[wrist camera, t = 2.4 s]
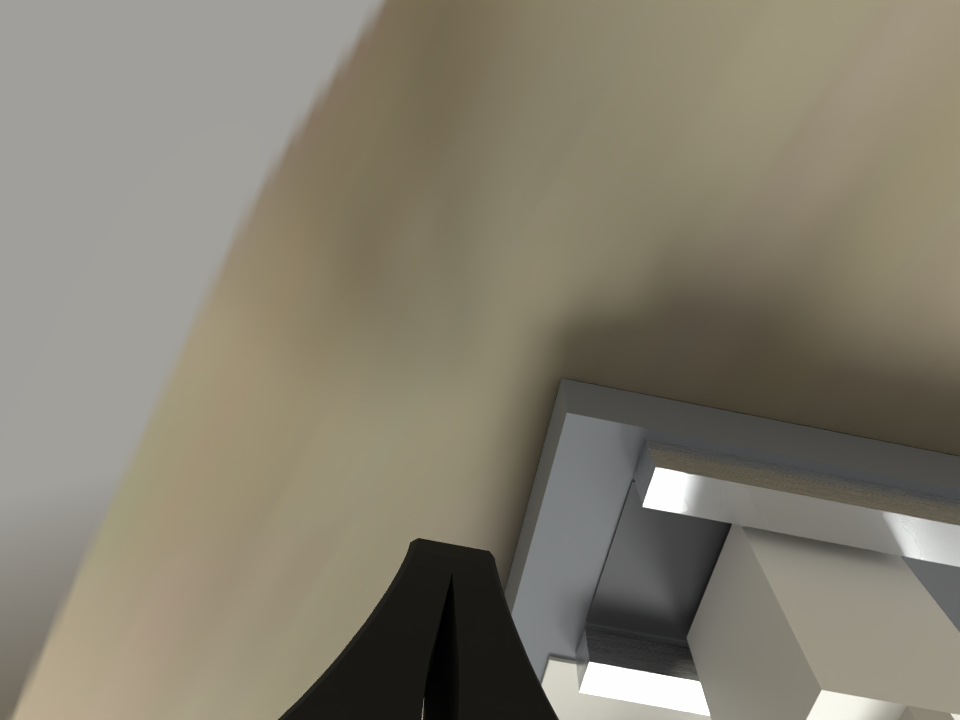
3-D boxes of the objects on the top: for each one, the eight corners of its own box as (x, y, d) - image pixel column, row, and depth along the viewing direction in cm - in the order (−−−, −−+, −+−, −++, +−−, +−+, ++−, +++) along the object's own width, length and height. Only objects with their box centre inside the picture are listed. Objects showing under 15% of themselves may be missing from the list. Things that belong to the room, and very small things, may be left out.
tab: (830, 664, 15) (960, 911, 10) (686, 637, 15) (758, 877, 10) (891, 544, 14) (1065, 768, 9) (735, 515, 13) (840, 728, 9)
